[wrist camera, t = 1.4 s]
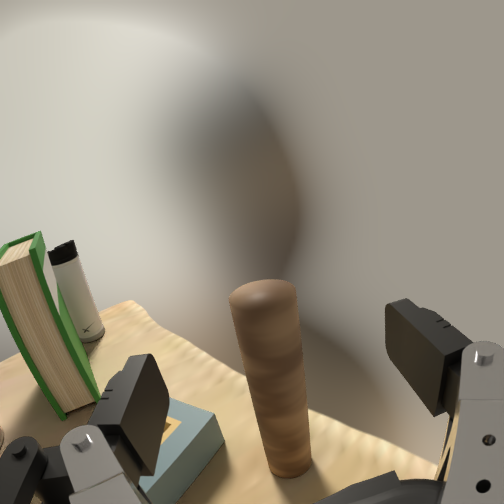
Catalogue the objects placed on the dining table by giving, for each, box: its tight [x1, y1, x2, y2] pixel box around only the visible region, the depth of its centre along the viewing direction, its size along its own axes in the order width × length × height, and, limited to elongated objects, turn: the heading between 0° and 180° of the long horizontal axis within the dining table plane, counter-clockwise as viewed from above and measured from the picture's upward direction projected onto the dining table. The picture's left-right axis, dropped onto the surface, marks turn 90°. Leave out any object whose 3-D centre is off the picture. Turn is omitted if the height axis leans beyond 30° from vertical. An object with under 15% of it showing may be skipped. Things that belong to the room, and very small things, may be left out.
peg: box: [229, 279, 311, 478], centre depth 24 cm, size 4×4×20 cm
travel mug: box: [47, 240, 105, 343], centre depth 55 cm, size 6×7×20 cm
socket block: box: [139, 397, 225, 504], centre depth 29 cm, size 12×12×5 cm
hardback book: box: [0, 231, 101, 421], centre depth 40 cm, size 18×7×24 cm, turn 36°
